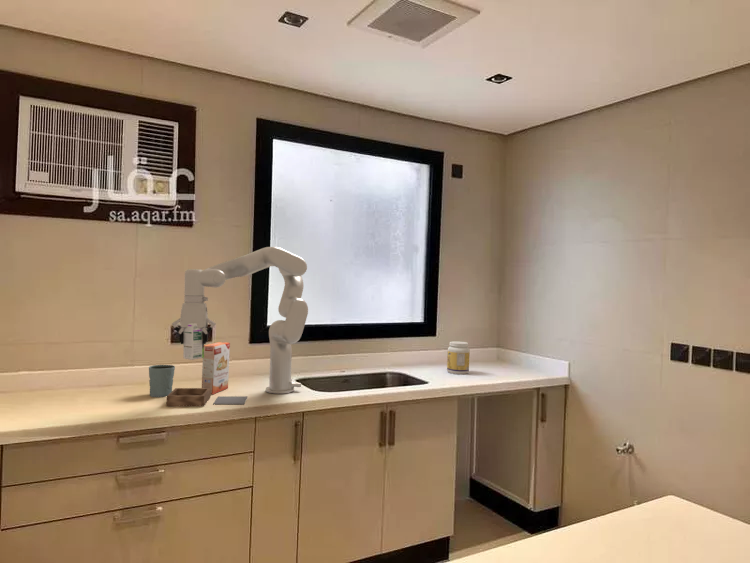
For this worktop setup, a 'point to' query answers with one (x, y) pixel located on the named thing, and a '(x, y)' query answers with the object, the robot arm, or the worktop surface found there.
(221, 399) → the grey mat
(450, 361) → the supplement tub
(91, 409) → the worktop surface
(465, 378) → the worktop surface
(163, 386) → the teal cup
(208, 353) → the cracker box
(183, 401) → the walnut box
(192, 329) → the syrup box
